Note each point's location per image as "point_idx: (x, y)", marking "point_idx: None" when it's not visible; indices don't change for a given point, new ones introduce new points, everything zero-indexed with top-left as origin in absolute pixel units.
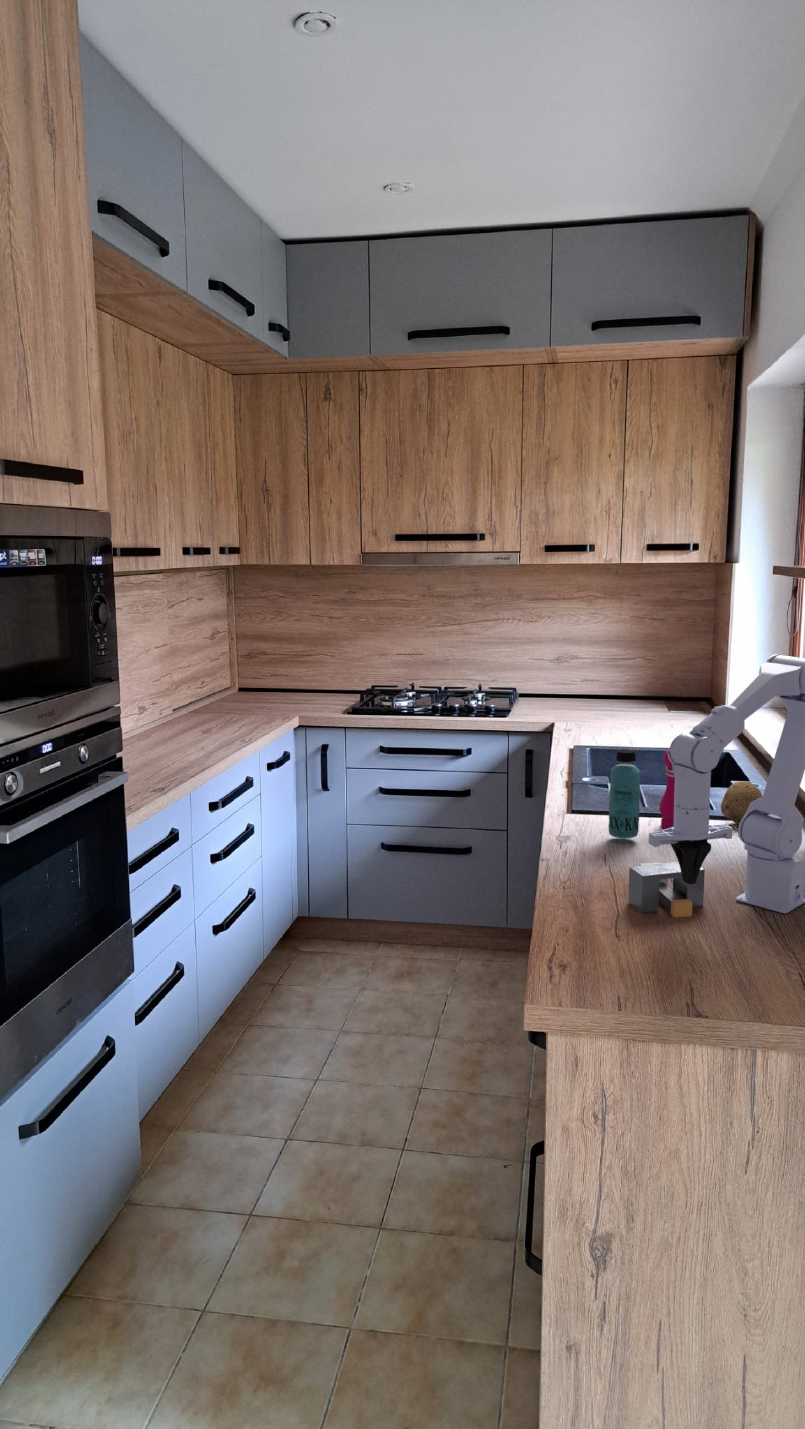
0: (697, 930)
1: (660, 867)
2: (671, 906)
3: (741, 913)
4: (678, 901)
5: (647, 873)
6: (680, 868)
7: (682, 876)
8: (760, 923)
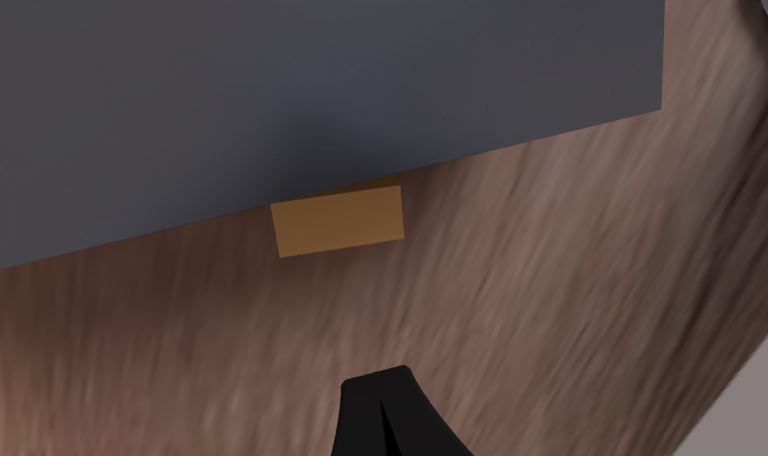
0: (351, 366)
1: (208, 11)
2: None
3: (664, 169)
4: (313, 229)
5: (17, 206)
6: (331, 454)
7: (341, 406)
8: (675, 288)
